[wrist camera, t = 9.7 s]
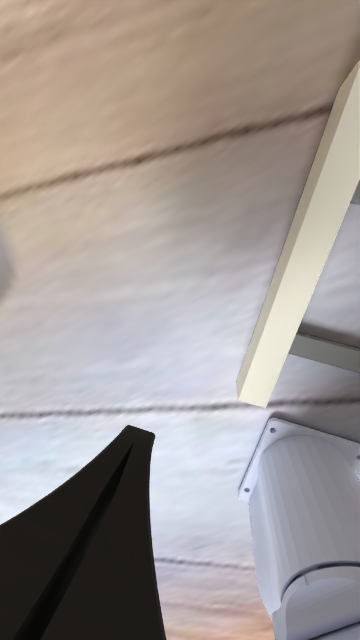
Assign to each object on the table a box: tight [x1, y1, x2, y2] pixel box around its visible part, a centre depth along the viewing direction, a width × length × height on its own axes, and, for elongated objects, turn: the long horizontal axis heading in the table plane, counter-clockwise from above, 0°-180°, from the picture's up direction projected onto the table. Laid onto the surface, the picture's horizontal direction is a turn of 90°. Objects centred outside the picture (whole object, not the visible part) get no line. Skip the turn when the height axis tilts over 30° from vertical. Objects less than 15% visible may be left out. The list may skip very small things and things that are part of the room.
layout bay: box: [236, 60, 360, 408], centre depth 15 cm, size 20×10×2 cm, turn 167°
